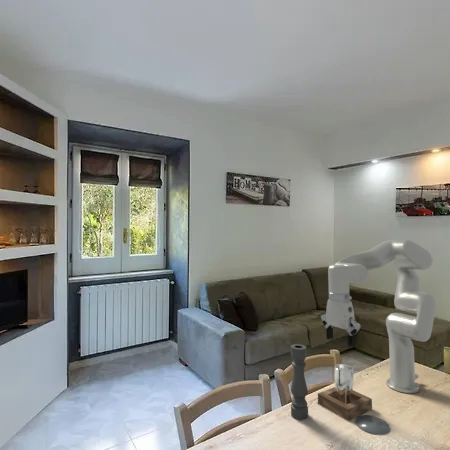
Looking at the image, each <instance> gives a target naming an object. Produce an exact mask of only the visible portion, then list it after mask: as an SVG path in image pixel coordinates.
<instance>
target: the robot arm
mask: <svg viewBox="0 0 450 450" xmlns="http://www.w3.org/2000/svg"><path fill="white" fill-rule="evenodd" d="M389 263H391V264H392V266H393V267H394V269H395V271H396V275H397V283H396V288H395V292H394V293H395V294H394V300H393V303H394V304H393V305H394V307H396V308H397V309H398V310H400V311H403V312H407V313H411V314H413V313H414V314H416V315H415V316H414V315H410V314H406V313H400V312H392V313H389V315H387V317H386V319H385V326H386V331H387V335H388V346H389V348H388V349H389V352H388V353H389V378H387V379H386V381H385V382H386V383H385V384H386V386H387V387H389V388H390V389H391V390H394V391H396V392H399V393H405V394H415V393H419V391H420V386H419V385H418V383H417V382H416V380H418V379H419V377H420V376H419V374H418V373H416V372H415V368H416V367H415V347H414V343H413V342H412V340H413V341H419V342H423V343H424V342H427V341H428V340H430V338H431V335H432V331H433V326H434V320H435V313H436V306H437V305H436V301H435V298H434V296H433V295H432V294H430V293H428V292H426V291H419V288H420V279H419V275H417V273H416V271H415V270H421V271H425V270H428V269H430V268H431V266H432V265H433V257H432V254H431V253H430V252H429V251H428V250H427V249H425V248H424V247H422V246H421V245H419V244H418V243H416V242H415V241H411V240H409V239H387V240H384V241H382V242H380V243H378V244H377V245H375V246H374V247H372V248H370V249H369V250H365V251H362V252H358V253H354V254H351V255H349V256H346V257H345V256H344V258H341V259H340V260H338V261H337V262H335V263H334V264H331V265H329V266H328V270H327V271H328V272H327V274H328V275H327V276H328V277H327V279H328V299H327V301H326V310H325V311H326V312H325V313H324V314H322V315H320V318H321V321H322V324H323V325H324V328H325V329H326V332H325V333H326V340H331V339H333V338H334V328H333V327H336V328H338V329H343V330H346V333H347V346H348V347H352V346H355V345H356V342H355V341H356V340H355V337H356V336H355V335H357V333H358V332H360V329H361V326H362V325H361V324H360V323H359V322H358V321H357V320H356V319H355V312H354V306H353V303H352V301H351V300H352V299H353V298H352V296H351V295H350V284H351V283H352V284H361V283H364V282H366V281H367V279H369V271H373V270H378V269H381V268H383V267H384V266H386V265H388V264H389Z"/></svg>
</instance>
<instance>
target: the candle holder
mask: <svg viewBox="0 0 450 450" xmlns="http://www.w3.org/2000/svg"><path fill="white" fill-rule="evenodd" d="M290 356H291V359H292V362H291V366H292V367H293V376H292V380H291V384H290V391H291V394H292V397H293V398H292V400H291V404H290V415H291V417H292V418H293V419H295V420H298V421H305V420H307V419H308V418H309V406H308V401H307V400H306V396H307V395H308V392H309V390H308V386H307V382H306V377H305V367H306V366H307V363H306V362H305V360H306V357H307V346H306V345H304V344H301V343H299V344H296V343H295V344H291V345H290Z"/></svg>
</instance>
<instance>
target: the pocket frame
mask: <svg viewBox="0 0 450 450" xmlns="http://www.w3.org/2000/svg"><path fill="white" fill-rule="evenodd" d="M317 404H318V405H319V406H322V407H323V408H324V409H326V410H328V411H330V412H331V413H333V414H335V415H337V416H339V417H341V418H342V419H344V420H346V421H348V422H349V421H351V420H355V419H356V418H357V417H358V416H361V415H365V414H366V413H368V412H370V411H373V399H372V398H370V397H369V396H367V395H364V394H362V393H360V392H358V391H356V390H354V389H353V391H352V402H351V403H349V404H345V403H343V402H341V401H339V400H337V391H336V386H334V387H331V388H329V389H326V390H324V391H321V392H318V393H317Z"/></svg>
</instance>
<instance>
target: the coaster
mask: <svg viewBox="0 0 450 450" xmlns="http://www.w3.org/2000/svg"><path fill="white" fill-rule="evenodd" d="M354 421H355V422H354V423H355V425H356V426H357V427H358V428H359V429H360V430H361V431H364V432H365V433H368V434H371V435H376V434H383V435H387V434H389V433H390V431H391V427H390V424H389V423H388V422H387V421H386V420H384V419H382V418H381V417H379V416H375V415H370V414H362V415H360V416H358V417H356V418H354Z"/></svg>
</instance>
